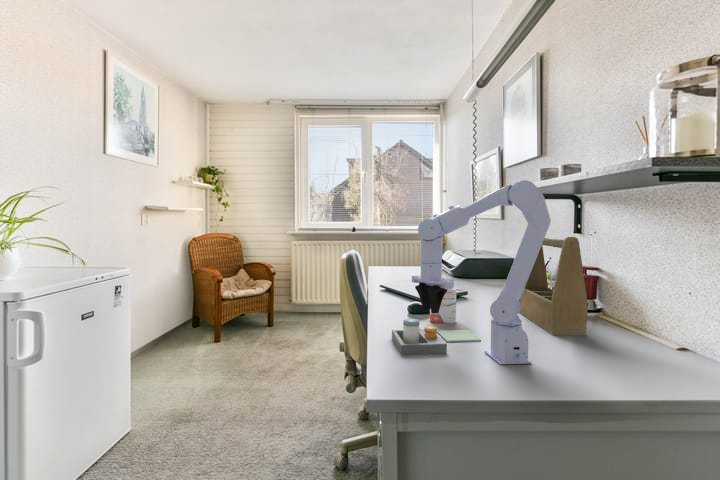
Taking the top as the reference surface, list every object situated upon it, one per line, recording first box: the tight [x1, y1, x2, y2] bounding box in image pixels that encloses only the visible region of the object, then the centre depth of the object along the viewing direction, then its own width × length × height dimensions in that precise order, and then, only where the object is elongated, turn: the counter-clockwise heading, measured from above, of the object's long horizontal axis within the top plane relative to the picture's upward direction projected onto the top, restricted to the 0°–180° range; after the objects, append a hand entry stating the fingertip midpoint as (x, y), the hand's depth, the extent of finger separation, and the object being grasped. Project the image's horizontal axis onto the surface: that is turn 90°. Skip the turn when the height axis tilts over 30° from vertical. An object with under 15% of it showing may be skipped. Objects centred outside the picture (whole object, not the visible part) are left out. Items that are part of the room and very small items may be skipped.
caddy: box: [518, 236, 589, 337], centre depth 129 cm, size 29×11×30 cm, turn 176°
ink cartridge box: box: [429, 277, 457, 324], centre depth 132 cm, size 9×5×15 cm, turn 84°
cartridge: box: [402, 318, 420, 344], centre depth 106 cm, size 4×4×7 cm
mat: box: [437, 329, 482, 343], centre depth 114 cm, size 10×10×1 cm
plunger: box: [423, 325, 438, 338], centre depth 106 cm, size 4×4×3 cm
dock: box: [391, 328, 448, 356], centre depth 106 cm, size 14×12×2 cm
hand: (430, 311), depth 106 cm, fingers open, 3 cm apart
